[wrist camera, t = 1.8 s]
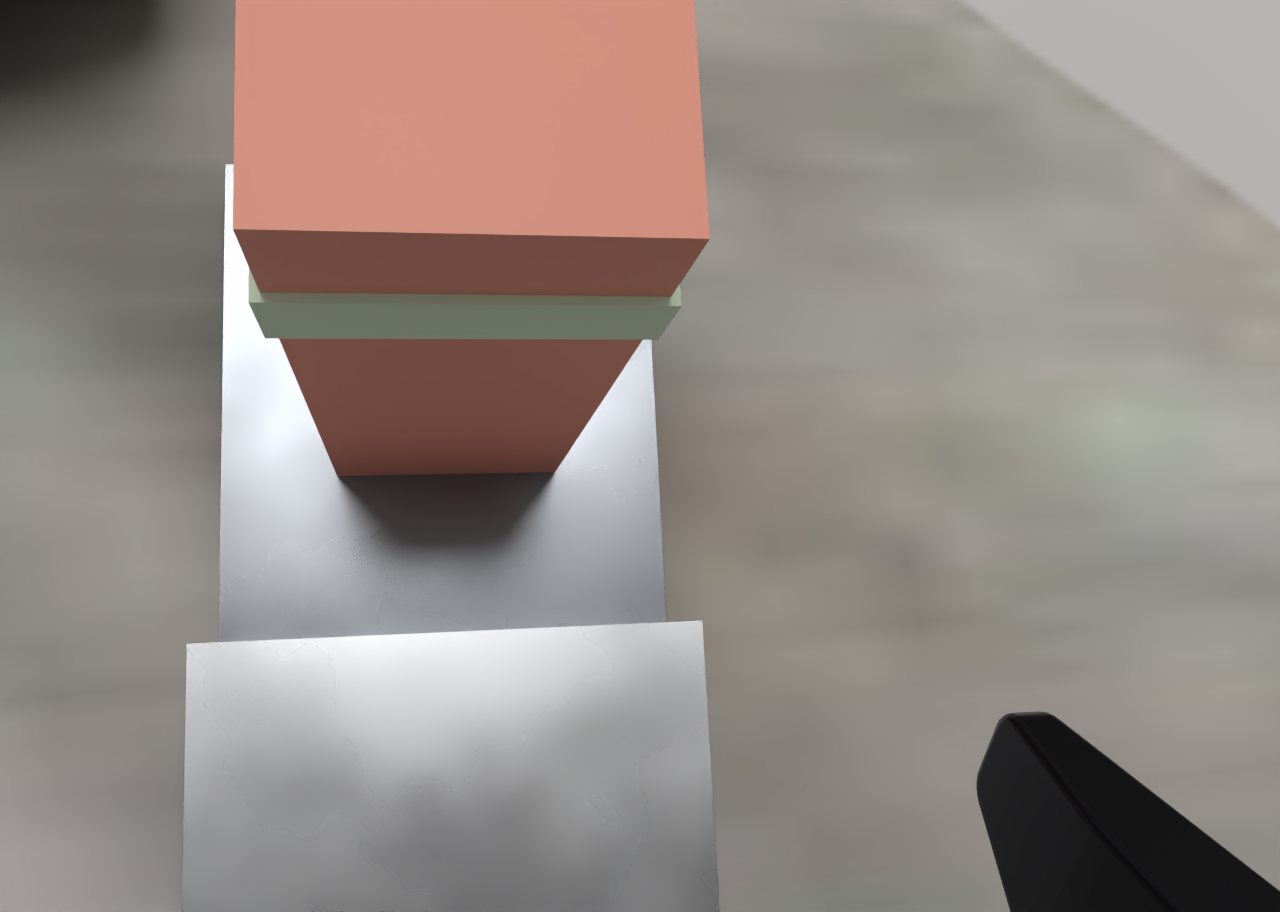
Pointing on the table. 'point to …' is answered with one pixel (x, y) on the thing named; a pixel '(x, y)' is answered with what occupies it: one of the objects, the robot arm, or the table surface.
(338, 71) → the salmon pink rectangular block
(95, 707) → the table surface
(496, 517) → the stand base
